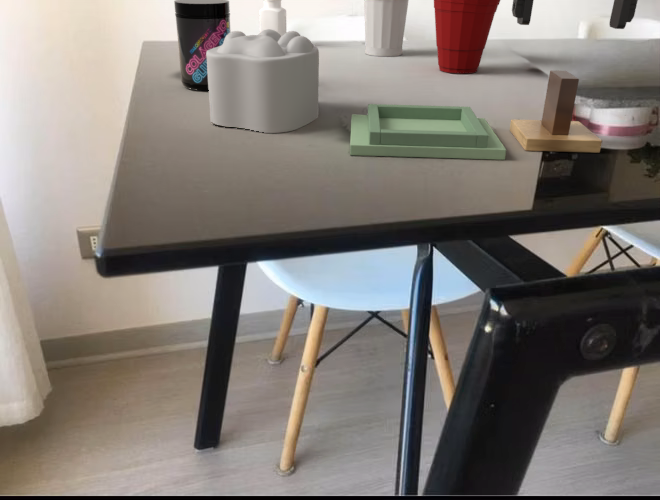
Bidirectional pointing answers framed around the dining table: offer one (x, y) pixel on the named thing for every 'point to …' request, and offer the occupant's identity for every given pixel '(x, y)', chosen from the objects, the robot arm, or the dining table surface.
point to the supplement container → (199, 36)
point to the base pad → (423, 133)
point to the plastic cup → (462, 32)
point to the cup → (384, 26)
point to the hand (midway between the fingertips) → (569, 26)
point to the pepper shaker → (272, 17)
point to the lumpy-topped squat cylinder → (263, 81)
